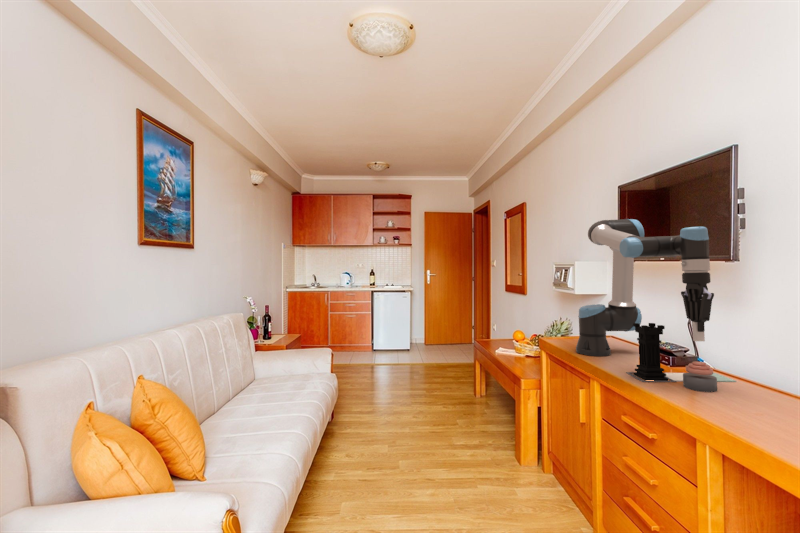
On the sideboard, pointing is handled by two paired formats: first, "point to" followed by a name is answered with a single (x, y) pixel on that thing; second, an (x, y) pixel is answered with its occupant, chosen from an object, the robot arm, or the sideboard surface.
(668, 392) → the sideboard surface
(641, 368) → the chess piece
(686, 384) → the base
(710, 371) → the pink swirled mound
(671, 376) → the board
